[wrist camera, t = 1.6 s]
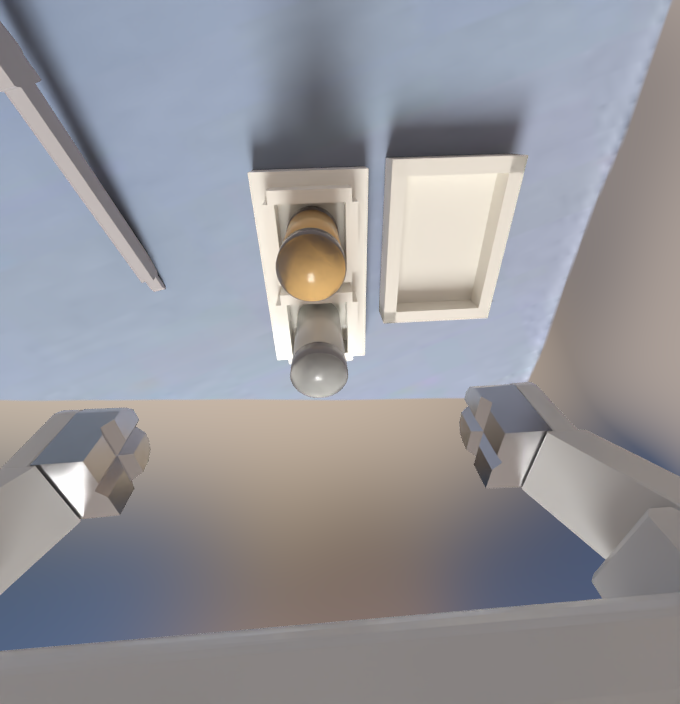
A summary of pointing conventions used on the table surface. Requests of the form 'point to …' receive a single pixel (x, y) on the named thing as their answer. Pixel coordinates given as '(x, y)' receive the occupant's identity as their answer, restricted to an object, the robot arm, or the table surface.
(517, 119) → the table surface
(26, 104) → the caliper
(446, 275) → the parts tray
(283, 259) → the fuse
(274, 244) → the block
